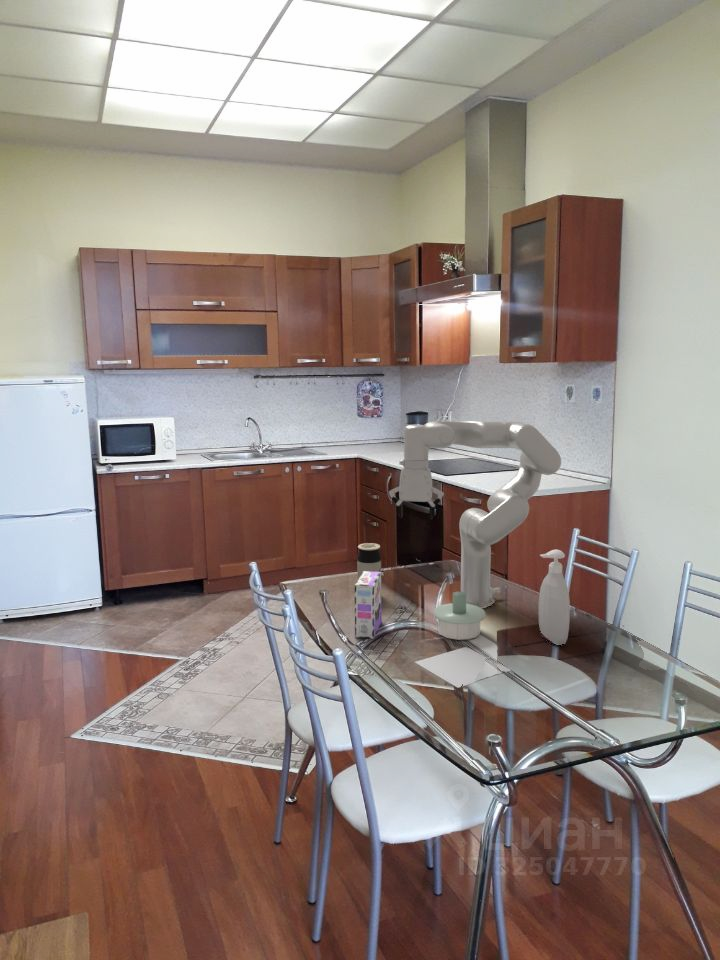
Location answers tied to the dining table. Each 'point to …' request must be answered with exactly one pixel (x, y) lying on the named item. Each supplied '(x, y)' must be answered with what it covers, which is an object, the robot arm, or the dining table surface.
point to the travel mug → (368, 558)
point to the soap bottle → (554, 601)
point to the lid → (459, 611)
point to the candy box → (368, 604)
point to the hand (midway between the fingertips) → (415, 518)
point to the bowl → (458, 630)
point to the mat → (457, 666)
